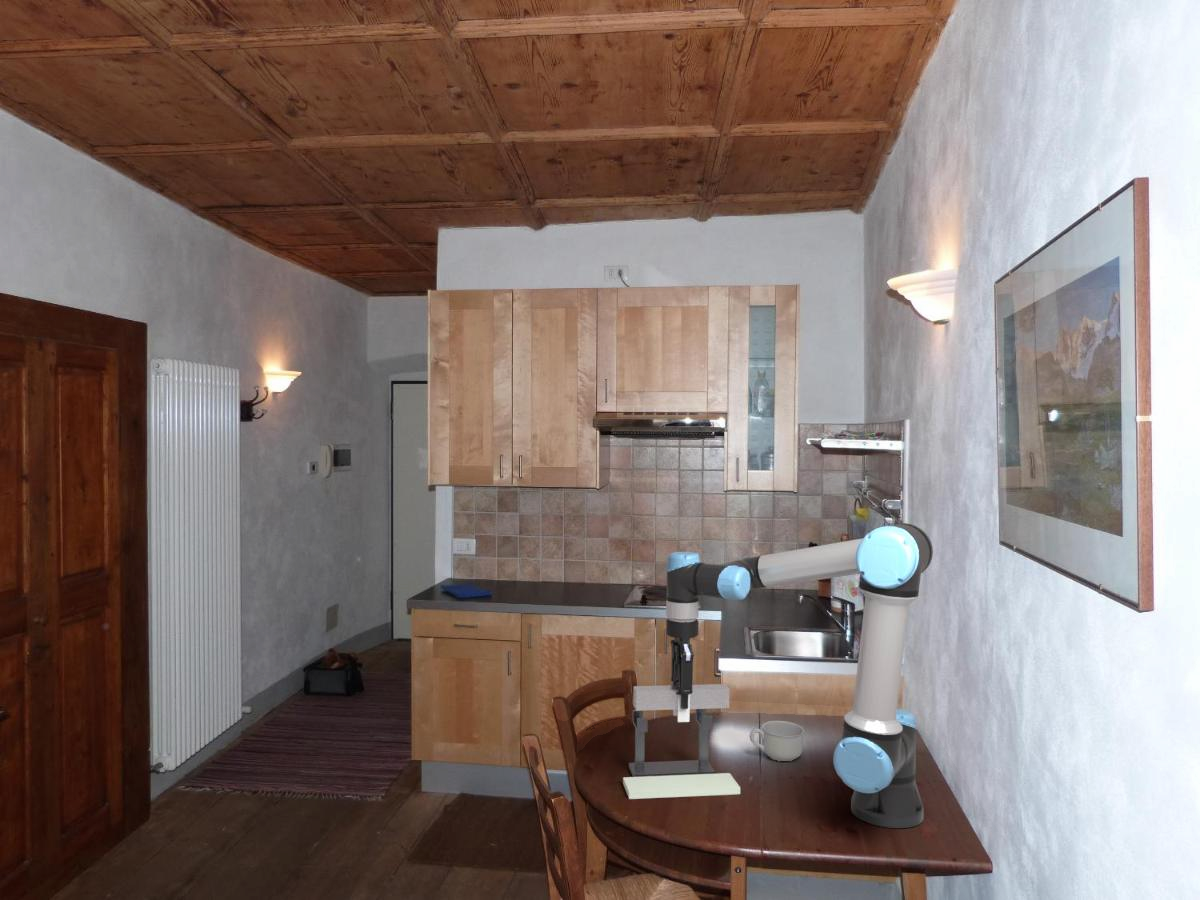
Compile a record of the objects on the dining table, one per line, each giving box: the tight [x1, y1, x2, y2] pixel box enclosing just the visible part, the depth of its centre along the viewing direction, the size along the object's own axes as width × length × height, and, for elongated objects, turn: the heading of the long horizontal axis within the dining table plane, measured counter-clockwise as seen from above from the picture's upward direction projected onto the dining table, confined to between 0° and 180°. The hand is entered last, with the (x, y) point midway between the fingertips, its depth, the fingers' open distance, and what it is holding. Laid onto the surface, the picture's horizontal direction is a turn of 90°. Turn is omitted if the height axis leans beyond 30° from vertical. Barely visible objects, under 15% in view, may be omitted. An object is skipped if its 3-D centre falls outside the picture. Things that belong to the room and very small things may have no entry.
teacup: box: [749, 720, 805, 762], centre depth 228 cm, size 14×11×8 cm
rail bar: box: [632, 683, 730, 711], centre depth 207 cm, size 4×22×4 cm, turn 97°
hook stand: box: [628, 709, 717, 777], centre depth 218 cm, size 8×20×14 cm, turn 97°
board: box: [622, 772, 741, 800], centre depth 207 cm, size 9×26×2 cm, turn 97°
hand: (681, 718), depth 207 cm, fingers closed on rail bar, 4 cm apart
